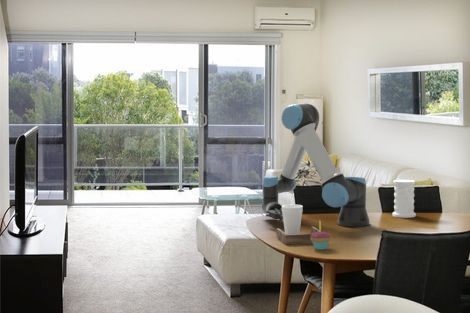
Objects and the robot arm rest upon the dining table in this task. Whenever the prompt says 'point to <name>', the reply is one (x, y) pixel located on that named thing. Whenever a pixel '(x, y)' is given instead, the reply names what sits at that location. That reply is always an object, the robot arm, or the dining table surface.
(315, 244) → the cupcake
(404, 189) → the decorative container
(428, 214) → the dining table surface
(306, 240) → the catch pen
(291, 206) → the foam cup
